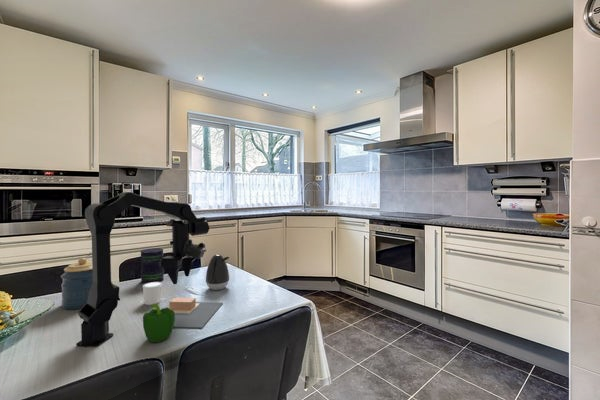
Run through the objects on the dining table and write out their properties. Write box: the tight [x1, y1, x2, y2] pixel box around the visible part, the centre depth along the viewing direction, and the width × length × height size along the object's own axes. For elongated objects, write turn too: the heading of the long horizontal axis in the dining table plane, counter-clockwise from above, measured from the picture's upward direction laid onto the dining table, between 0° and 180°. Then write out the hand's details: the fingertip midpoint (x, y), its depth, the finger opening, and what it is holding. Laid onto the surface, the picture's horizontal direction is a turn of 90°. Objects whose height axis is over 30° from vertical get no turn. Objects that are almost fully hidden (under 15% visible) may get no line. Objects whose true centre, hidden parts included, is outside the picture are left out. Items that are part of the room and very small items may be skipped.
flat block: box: [168, 297, 197, 311], centre depth 105 cm, size 8×4×3 cm, turn 86°
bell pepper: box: [142, 303, 175, 343], centre depth 85 cm, size 8×8×10 cm
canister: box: [60, 257, 93, 310], centre depth 111 cm, size 13×13×18 cm
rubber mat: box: [173, 301, 224, 329], centre depth 101 cm, size 20×18×1 cm
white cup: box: [142, 282, 163, 306], centre depth 112 cm, size 7×7×7 cm
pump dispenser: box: [205, 254, 230, 291], centre depth 128 cm, size 10×10×15 cm
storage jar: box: [140, 247, 165, 285], centre depth 138 cm, size 10×10×15 cm
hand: (181, 280), depth 105 cm, fingers open, 9 cm apart
